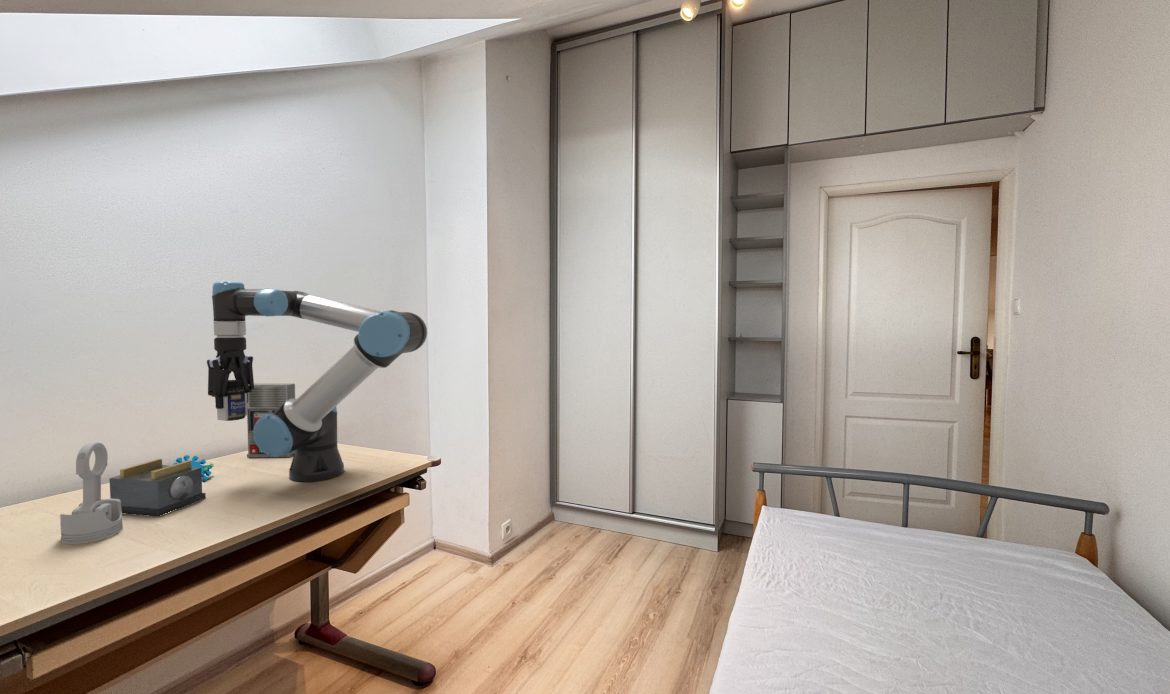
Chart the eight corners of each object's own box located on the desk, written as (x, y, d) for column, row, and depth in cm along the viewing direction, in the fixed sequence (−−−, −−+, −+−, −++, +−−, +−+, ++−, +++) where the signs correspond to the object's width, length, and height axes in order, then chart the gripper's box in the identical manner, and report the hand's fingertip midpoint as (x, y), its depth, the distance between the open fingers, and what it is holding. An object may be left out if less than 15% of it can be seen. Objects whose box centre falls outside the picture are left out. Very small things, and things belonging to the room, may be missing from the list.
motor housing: (205, 498, 140) (204, 459, 140) (159, 516, 127) (157, 474, 127) (157, 494, 143) (156, 456, 142) (107, 512, 130) (105, 470, 129)
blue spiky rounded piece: (181, 483, 147) (169, 455, 150) (170, 496, 148) (158, 468, 152) (221, 478, 157) (209, 451, 160) (211, 490, 159) (199, 463, 162)
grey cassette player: (246, 458, 179) (244, 385, 177) (256, 453, 185) (254, 383, 183) (288, 458, 180) (287, 385, 178) (297, 453, 186) (295, 383, 184)
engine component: (49, 546, 111) (107, 541, 114) (44, 451, 110) (102, 448, 112) (82, 526, 121) (134, 522, 124) (77, 439, 120) (130, 437, 123)
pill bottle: (233, 421, 146) (232, 382, 145) (214, 420, 147) (212, 381, 146) (250, 417, 152) (249, 379, 151) (232, 416, 153) (231, 378, 152)
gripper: (245, 335, 158) (247, 411, 160) (188, 337, 139) (191, 423, 141) (267, 335, 157) (269, 411, 158) (212, 338, 138) (215, 424, 140)
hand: (232, 417), depth 150 cm, fingers closed on pill bottle, 6 cm apart
